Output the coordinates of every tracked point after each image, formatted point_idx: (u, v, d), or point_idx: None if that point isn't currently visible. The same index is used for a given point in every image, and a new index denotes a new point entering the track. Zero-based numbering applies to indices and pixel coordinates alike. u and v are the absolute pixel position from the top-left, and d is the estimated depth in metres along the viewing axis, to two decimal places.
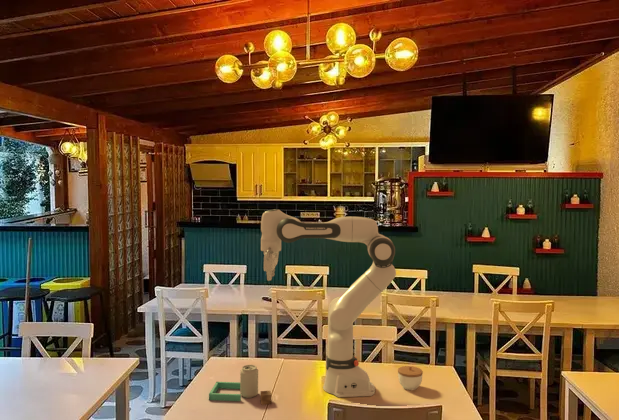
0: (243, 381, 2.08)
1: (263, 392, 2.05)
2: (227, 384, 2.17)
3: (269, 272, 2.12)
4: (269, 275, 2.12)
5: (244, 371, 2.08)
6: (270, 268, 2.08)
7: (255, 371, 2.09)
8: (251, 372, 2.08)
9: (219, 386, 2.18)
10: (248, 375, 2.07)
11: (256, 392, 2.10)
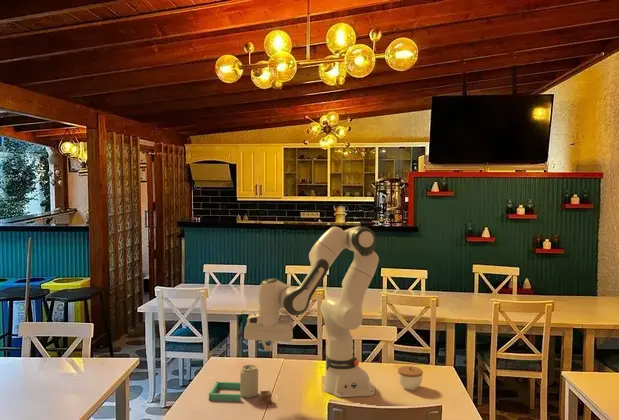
0: (243, 381, 2.08)
1: (263, 392, 2.05)
2: (227, 384, 2.17)
3: None
4: (272, 345, 2.10)
5: (244, 371, 2.08)
6: (292, 336, 2.10)
7: (255, 371, 2.09)
8: (251, 372, 2.08)
9: (219, 386, 2.18)
10: (248, 375, 2.07)
11: (256, 392, 2.10)
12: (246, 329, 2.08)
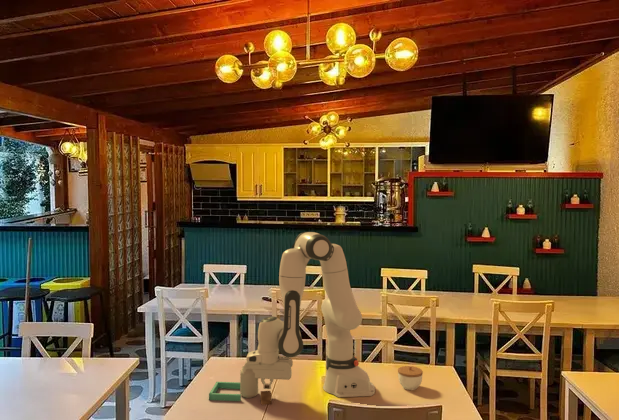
0: (243, 381, 2.08)
1: (263, 392, 2.05)
2: (227, 384, 2.17)
3: (273, 379, 2.10)
4: (271, 383, 2.10)
5: None
6: (291, 374, 2.11)
7: None
8: (251, 372, 2.08)
9: (219, 386, 2.18)
10: (248, 375, 2.07)
11: (256, 392, 2.10)
12: (245, 367, 2.08)
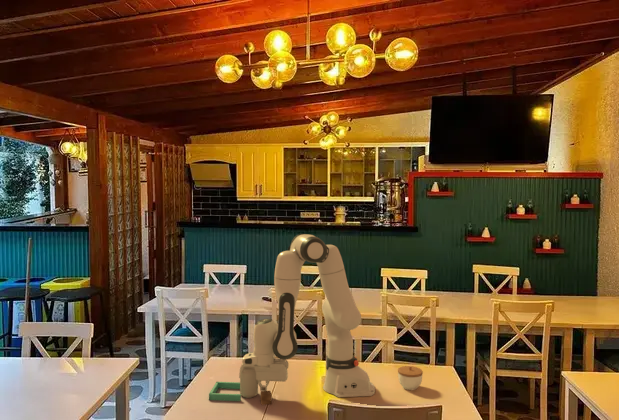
0: (243, 381, 2.08)
1: (263, 392, 2.05)
2: (227, 384, 2.17)
3: (269, 381, 2.11)
4: (267, 385, 2.11)
5: (244, 371, 2.08)
6: (287, 376, 2.11)
7: None
8: (251, 372, 2.08)
9: (219, 386, 2.18)
10: (248, 375, 2.07)
11: (256, 392, 2.10)
12: (241, 369, 2.09)
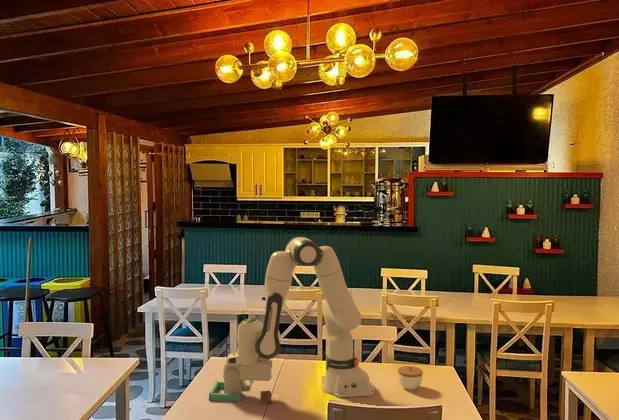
0: (227, 380, 2.08)
1: (263, 392, 2.05)
2: None
3: (253, 381, 2.11)
4: (251, 384, 2.11)
5: (227, 370, 2.09)
6: (271, 375, 2.11)
7: (238, 370, 2.09)
8: (234, 371, 2.08)
9: (219, 386, 2.18)
10: (231, 374, 2.08)
11: (239, 391, 2.10)
12: (225, 369, 2.09)
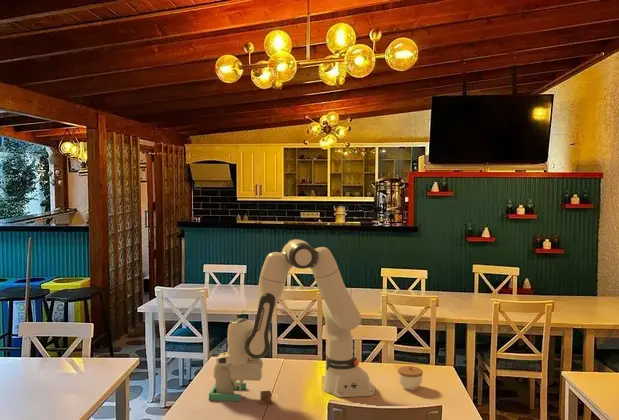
0: (217, 379, 2.09)
1: (263, 392, 2.05)
2: None
3: (243, 380, 2.11)
4: (241, 384, 2.11)
5: None
6: None
7: (229, 370, 2.10)
8: (225, 371, 2.09)
9: None
10: (222, 374, 2.08)
11: (230, 391, 2.10)
12: (215, 369, 2.09)
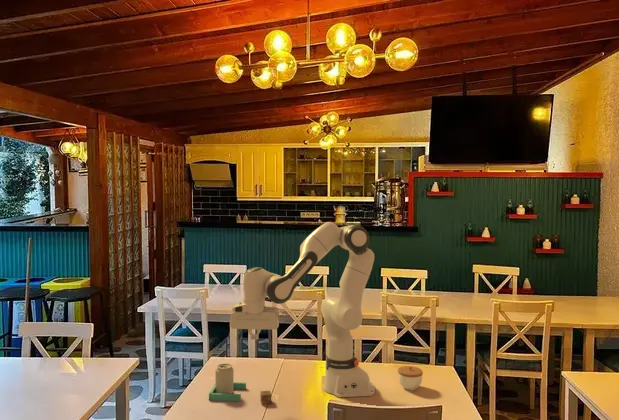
0: (217, 379, 2.09)
1: (263, 392, 2.05)
2: None
3: (260, 330, 2.10)
4: (258, 333, 2.10)
5: (218, 369, 2.10)
6: (278, 324, 2.10)
7: (229, 370, 2.10)
8: (225, 371, 2.09)
9: None
10: (221, 374, 2.08)
11: (230, 391, 2.10)
12: (231, 318, 2.08)
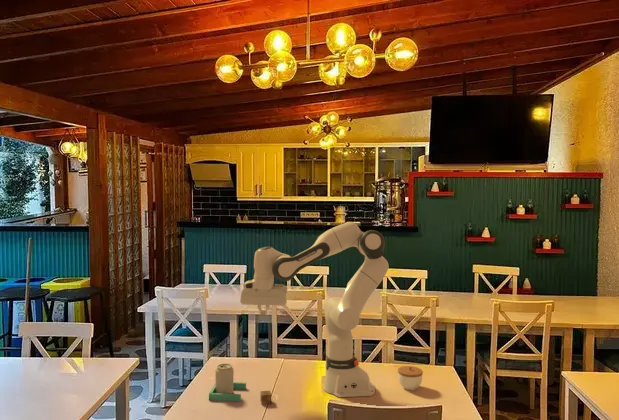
0: (217, 379, 2.09)
1: (263, 392, 2.05)
2: None
3: (269, 306, 2.21)
4: (267, 309, 2.21)
5: (218, 369, 2.10)
6: (286, 301, 2.22)
7: (229, 370, 2.10)
8: (225, 371, 2.09)
9: None
10: (221, 374, 2.08)
11: (230, 391, 2.10)
12: (242, 294, 2.19)
